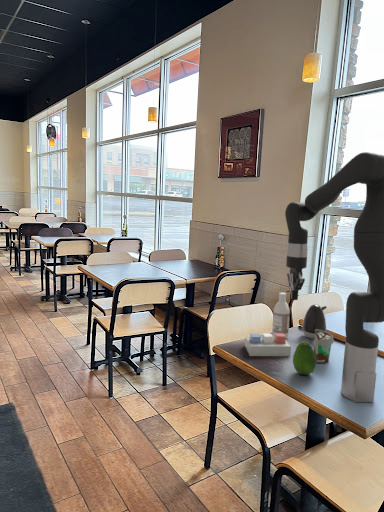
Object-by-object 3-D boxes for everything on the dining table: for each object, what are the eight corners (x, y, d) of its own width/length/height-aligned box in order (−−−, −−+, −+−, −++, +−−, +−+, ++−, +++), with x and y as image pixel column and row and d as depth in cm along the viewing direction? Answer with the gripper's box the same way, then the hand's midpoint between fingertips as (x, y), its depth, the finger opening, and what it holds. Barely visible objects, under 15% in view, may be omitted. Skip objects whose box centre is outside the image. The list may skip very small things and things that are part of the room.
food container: (334, 367, 136) (336, 341, 134) (317, 365, 137) (319, 339, 136) (329, 354, 148) (331, 330, 146) (313, 352, 149) (315, 328, 148)
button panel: (290, 356, 145) (291, 346, 144) (249, 356, 144) (250, 346, 143) (282, 346, 155) (283, 337, 154) (244, 345, 154) (245, 336, 153)
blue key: (260, 347, 147) (260, 336, 146) (251, 347, 147) (252, 336, 146) (258, 344, 150) (258, 333, 150) (249, 344, 150) (250, 333, 150)
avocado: (287, 372, 131) (289, 340, 129) (302, 367, 135) (304, 335, 134) (305, 381, 125) (308, 347, 123) (320, 376, 129) (323, 343, 127)
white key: (272, 347, 147) (273, 336, 147) (264, 347, 147) (264, 336, 146) (270, 343, 151) (270, 333, 150) (262, 343, 151) (262, 333, 150)
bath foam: (286, 340, 161) (289, 295, 158) (270, 337, 164) (273, 293, 161) (289, 335, 167) (292, 292, 164) (273, 332, 170) (276, 290, 167)
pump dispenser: (330, 341, 162) (333, 307, 159) (309, 342, 159) (311, 308, 157) (317, 332, 172) (320, 301, 169) (297, 334, 169) (299, 302, 167)
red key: (284, 346, 148) (285, 336, 147) (276, 346, 147) (277, 336, 147) (282, 343, 151) (283, 333, 150) (274, 343, 151) (274, 333, 150)
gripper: (313, 257, 135) (310, 303, 137) (300, 253, 148) (297, 295, 150) (293, 257, 134) (290, 303, 136) (281, 253, 147) (279, 295, 149)
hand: (294, 299), depth 143 cm, fingers closed
